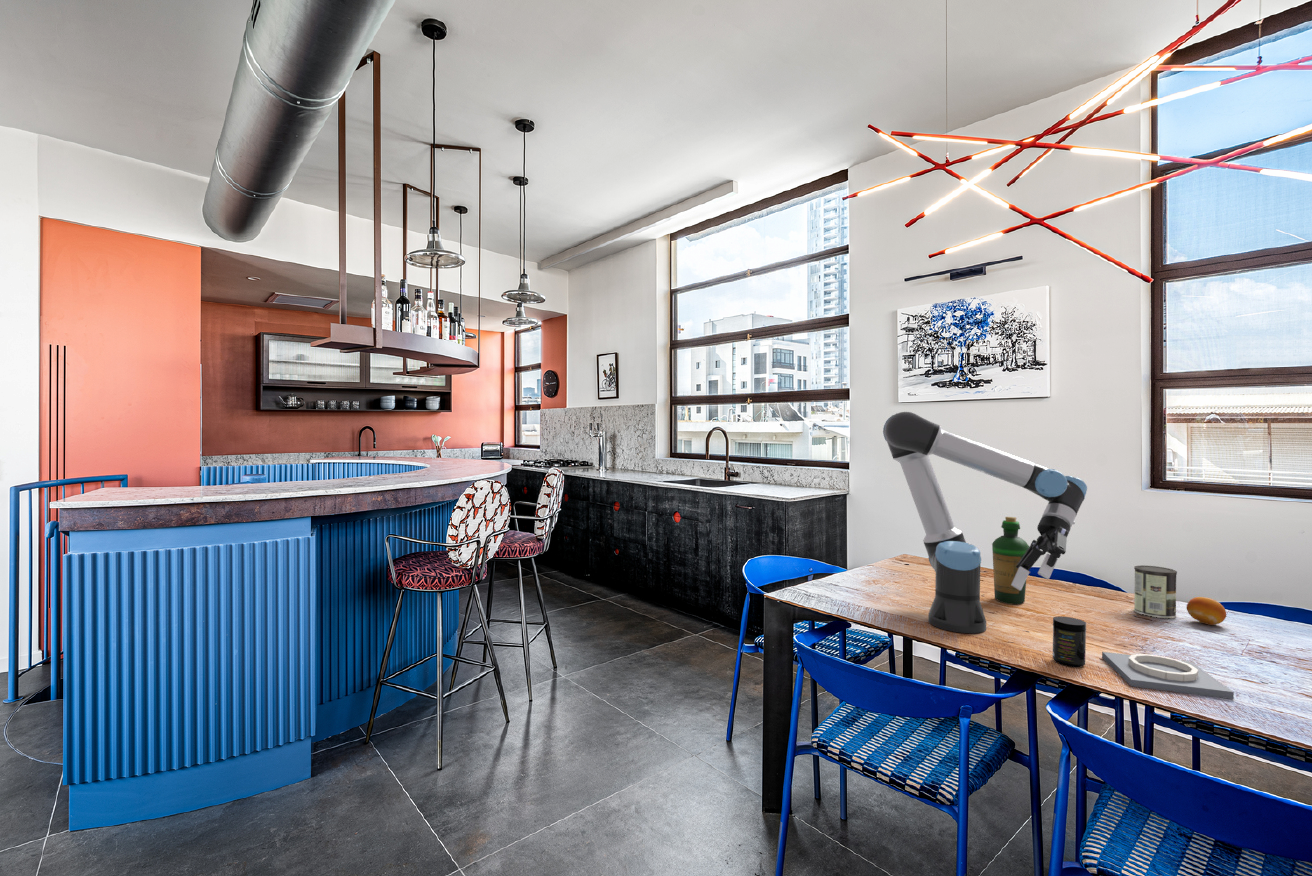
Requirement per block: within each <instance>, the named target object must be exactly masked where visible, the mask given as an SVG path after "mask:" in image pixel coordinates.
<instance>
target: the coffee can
mask: <svg viewBox="0 0 1312 876" xmlns="http://www.w3.org/2000/svg"><path fill="white" fill-rule="evenodd" d="M1177 575H1178V570H1175V569H1173V568H1168V567H1164V566H1163V567H1162V566H1157V565H1156V566H1155V565H1135V566H1134V598H1133V599H1134V609H1133V612H1135V613H1137V614H1139V615H1142V614H1144V615H1143V616H1145V615H1148V616H1147V617H1150V616H1152V617H1151V618H1156V617H1157V618H1156V619H1158V618H1159V619H1168V618H1170V619H1175V618H1177Z"/></svg>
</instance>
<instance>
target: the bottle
mask: <svg viewBox="0 0 1312 876" xmlns="http://www.w3.org/2000/svg"><path fill="white" fill-rule="evenodd" d="M1004 517H1005V520H1002V523H1001V526H1000V528H1002V531H1003V535H1001V536H998V537H997V538H995V539H994V541H993V542H992V543H991V545H992V548H991V549H992V566H993V567H992V568H993V588H994V599H995V600H997V601H998V602H1001V603H1004V604H1009V605H1022V604H1024V603H1025V601H1026V600H1025V599H1026V591H1027V590H1026V589H1027V580H1026V581H1025V583H1024V585H1023V588H1022V590H1018V589H1016V588H1015V587H1013V586H1012V585H1011V584H1012V582H1013V579H1014V577H1015V575H1016V573H1017V571H1018V568H1016V565H1017V564H1018V563H1019V561H1020V560H1021V558H1022V557H1023V555H1024V554H1025V552H1026V551H1027V550H1028V548H1029V547H1030V545H1029V543H1027V541H1026V540H1025V539H1023V538H1022V537H1020V536H1019V530H1020V529H1021V525H1020V522H1019V521H1017V517H1015V516H1004Z"/></svg>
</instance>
